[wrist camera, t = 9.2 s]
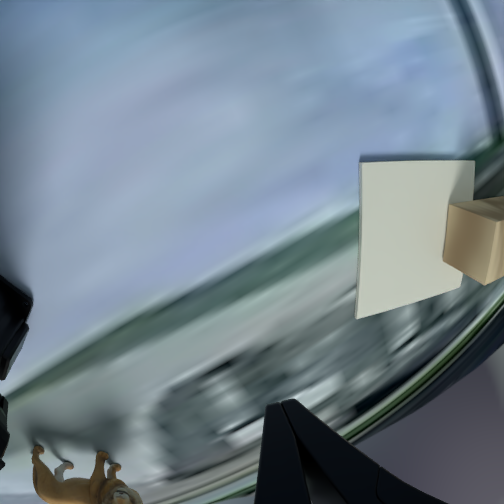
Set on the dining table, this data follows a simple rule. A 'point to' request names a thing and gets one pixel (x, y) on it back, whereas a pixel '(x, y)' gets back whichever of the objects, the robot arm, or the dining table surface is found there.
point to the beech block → (476, 238)
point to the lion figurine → (81, 484)
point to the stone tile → (406, 230)
